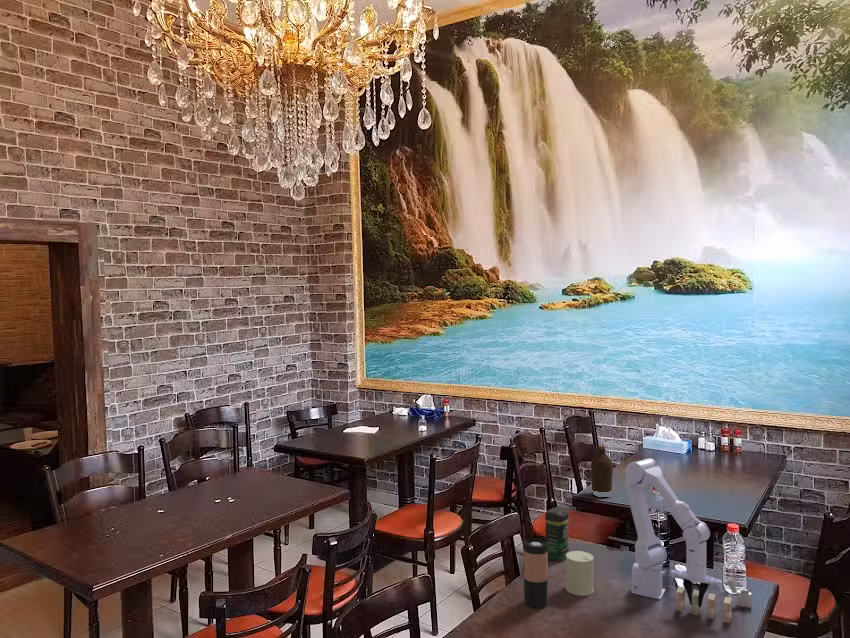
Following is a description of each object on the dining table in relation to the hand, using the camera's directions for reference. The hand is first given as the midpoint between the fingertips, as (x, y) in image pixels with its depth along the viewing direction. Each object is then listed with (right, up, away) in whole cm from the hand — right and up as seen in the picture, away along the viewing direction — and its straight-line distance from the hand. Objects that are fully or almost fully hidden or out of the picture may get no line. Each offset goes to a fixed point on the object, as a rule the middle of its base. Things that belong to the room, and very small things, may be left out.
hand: (695, 604), depth 199 cm
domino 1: (-4, -2, +2) cm, 5 cm away
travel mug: (-49, -3, +6) cm, 50 cm away
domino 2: (0, -2, 0) cm, 2 cm away
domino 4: (+8, -2, -5) cm, 9 cm away
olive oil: (+3, +1, +118) cm, 118 cm away
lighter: (+16, -2, +4) cm, 16 cm away
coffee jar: (-35, -1, +43) cm, 55 cm away
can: (-33, -2, +16) cm, 36 cm away
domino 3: (+4, -2, -2) cm, 5 cm away
